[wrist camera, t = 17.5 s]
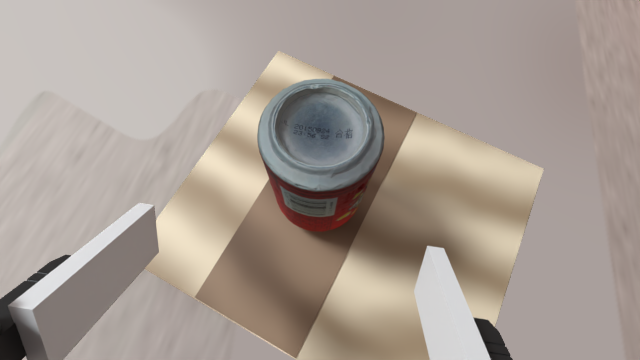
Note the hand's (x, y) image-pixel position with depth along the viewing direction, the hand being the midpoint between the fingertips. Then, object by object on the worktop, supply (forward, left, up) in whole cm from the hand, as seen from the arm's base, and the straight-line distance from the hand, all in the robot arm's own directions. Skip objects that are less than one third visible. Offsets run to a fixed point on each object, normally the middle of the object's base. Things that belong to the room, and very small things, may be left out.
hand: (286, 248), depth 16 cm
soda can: (-6, -2, -12) cm, 13 cm away
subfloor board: (-6, +1, -13) cm, 14 cm away
